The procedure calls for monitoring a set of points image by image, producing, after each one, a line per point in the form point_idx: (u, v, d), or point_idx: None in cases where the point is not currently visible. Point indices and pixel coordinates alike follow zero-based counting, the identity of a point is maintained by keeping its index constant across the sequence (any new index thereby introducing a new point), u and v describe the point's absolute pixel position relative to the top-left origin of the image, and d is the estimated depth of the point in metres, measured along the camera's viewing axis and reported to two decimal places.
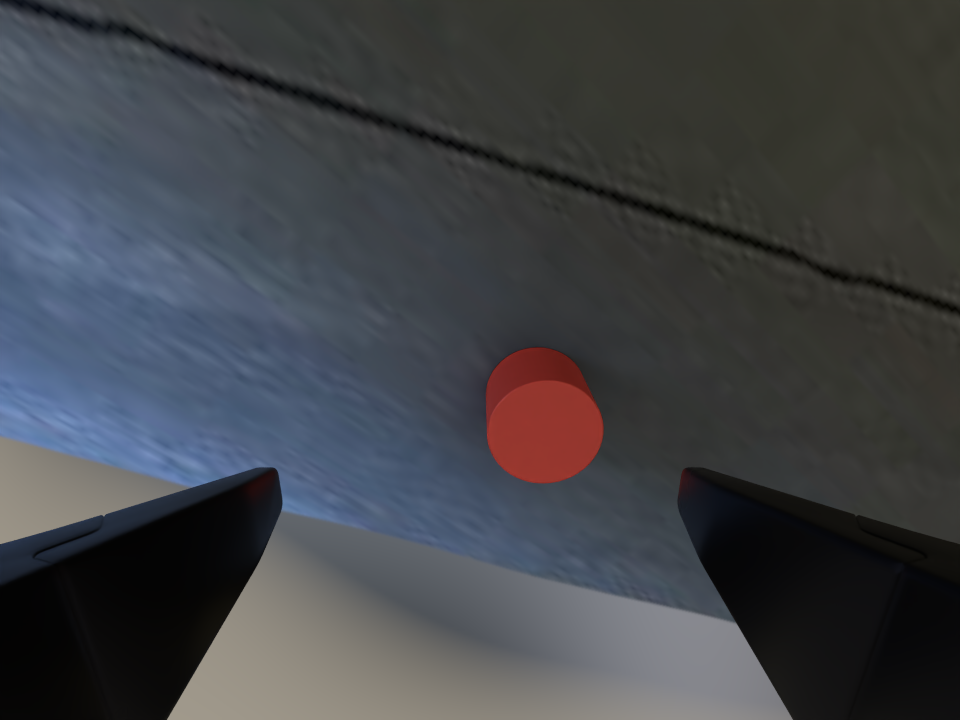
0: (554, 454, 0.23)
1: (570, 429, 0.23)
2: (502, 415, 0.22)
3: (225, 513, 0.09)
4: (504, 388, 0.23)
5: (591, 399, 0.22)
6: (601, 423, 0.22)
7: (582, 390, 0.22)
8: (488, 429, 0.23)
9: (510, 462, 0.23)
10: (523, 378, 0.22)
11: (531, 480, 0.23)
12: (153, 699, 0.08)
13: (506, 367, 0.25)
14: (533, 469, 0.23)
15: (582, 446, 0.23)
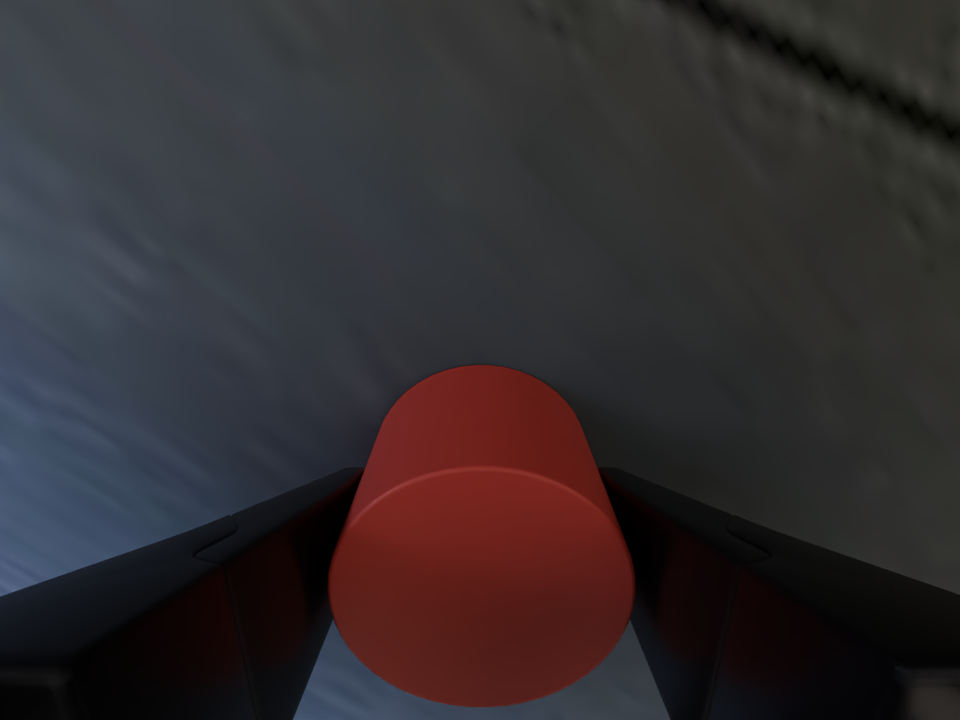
0: (500, 649, 0.09)
1: (548, 594, 0.08)
2: (367, 548, 0.08)
3: (334, 513, 0.09)
4: (383, 470, 0.09)
5: (612, 524, 0.08)
6: (631, 585, 0.08)
7: (590, 499, 0.08)
8: (330, 579, 0.08)
9: (388, 658, 0.09)
10: (434, 449, 0.08)
11: (441, 699, 0.09)
12: (284, 699, 0.08)
13: (412, 408, 0.10)
14: (446, 677, 0.09)
15: (575, 635, 0.09)
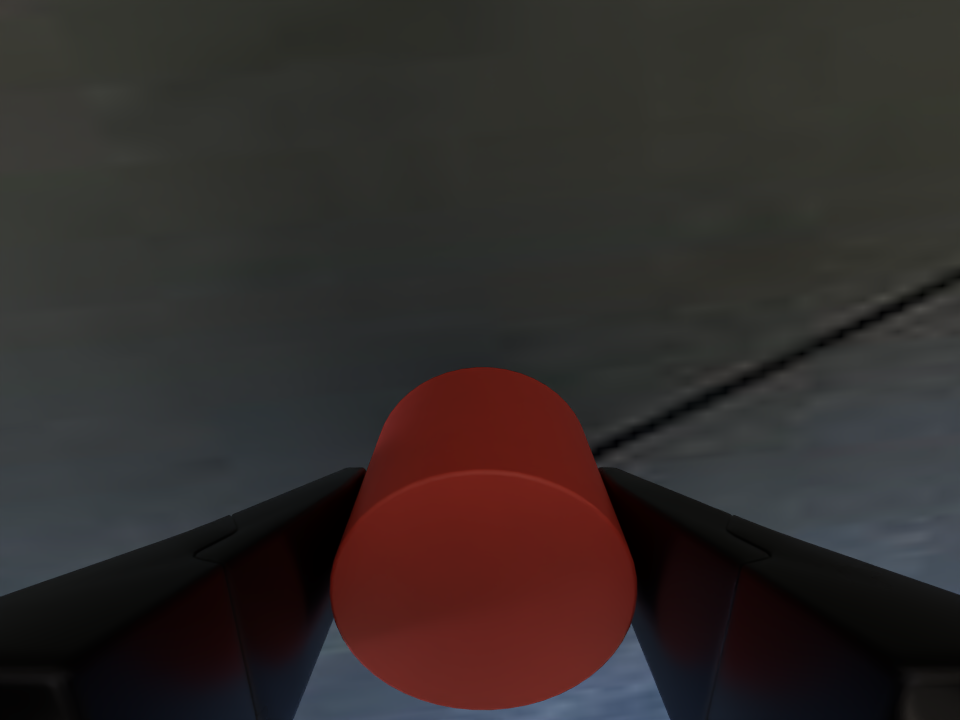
0: (503, 652, 0.09)
1: (550, 598, 0.09)
2: (369, 551, 0.08)
3: (335, 513, 0.09)
4: (385, 473, 0.09)
5: (613, 527, 0.08)
6: (633, 588, 0.08)
7: (591, 503, 0.08)
8: (332, 582, 0.08)
9: (390, 661, 0.09)
10: (436, 453, 0.08)
11: (443, 702, 0.09)
12: (284, 700, 0.08)
13: (413, 411, 0.10)
14: (448, 680, 0.09)
15: (577, 638, 0.09)
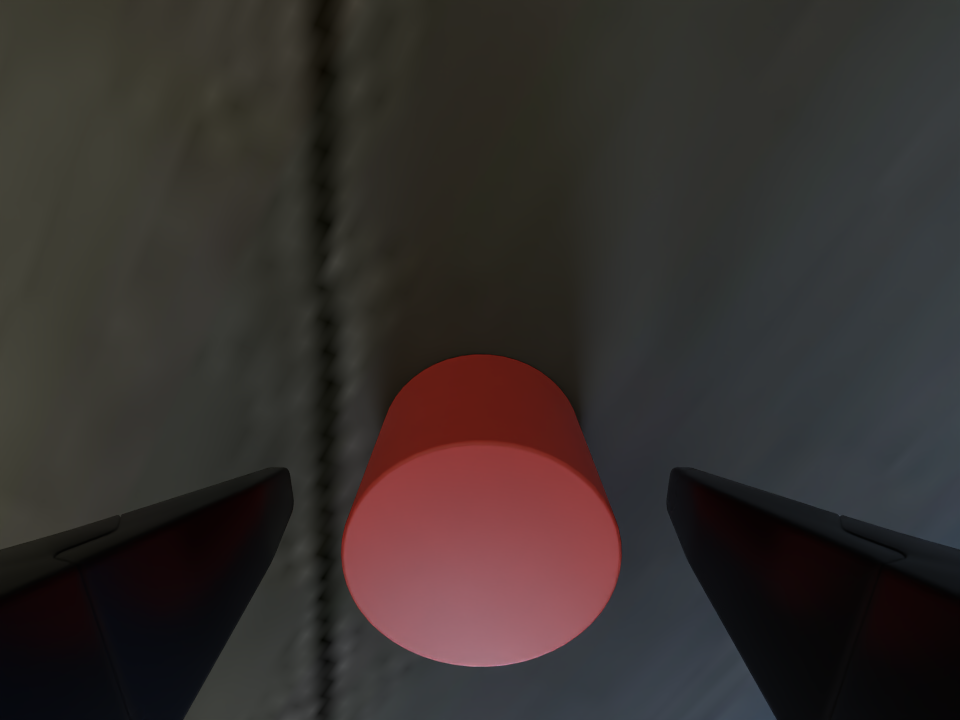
0: (499, 611, 0.10)
1: (543, 560, 0.09)
2: (377, 516, 0.09)
3: (239, 513, 0.09)
4: (392, 447, 0.10)
5: (599, 494, 0.09)
6: (618, 551, 0.09)
7: (579, 471, 0.09)
8: (343, 545, 0.09)
9: (396, 620, 0.10)
10: (438, 427, 0.09)
11: (444, 659, 0.10)
12: (170, 699, 0.08)
13: (416, 393, 0.11)
14: (449, 638, 0.10)
15: (567, 598, 0.10)
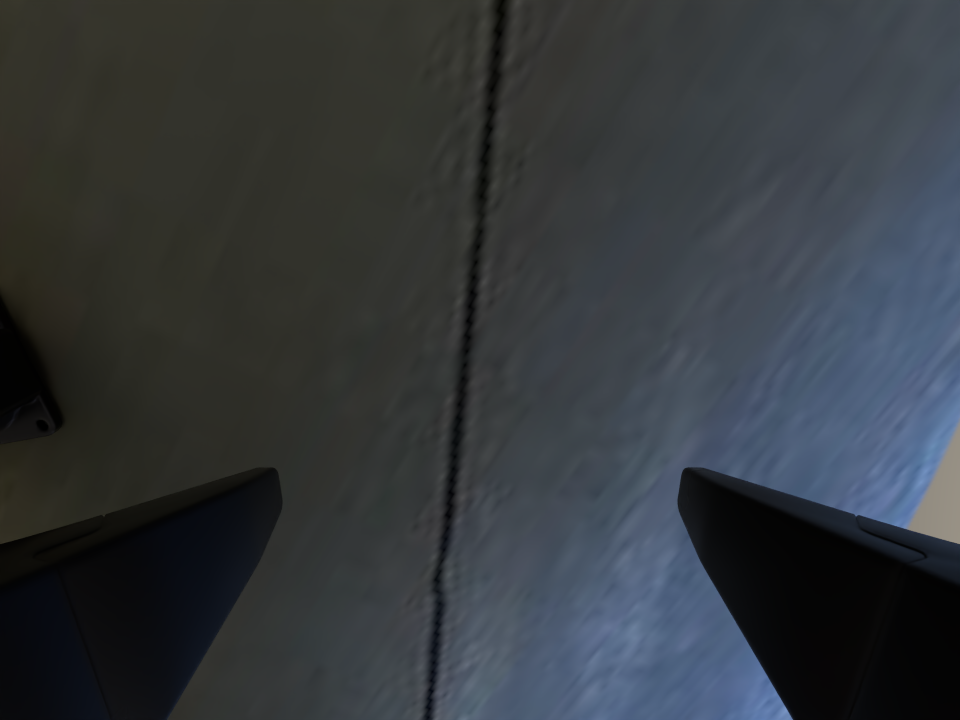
0: None
1: None
2: None
3: (225, 513, 0.09)
4: None
5: None
6: None
7: None
8: None
9: None
10: None
11: None
12: (153, 699, 0.08)
13: None
14: None
15: None
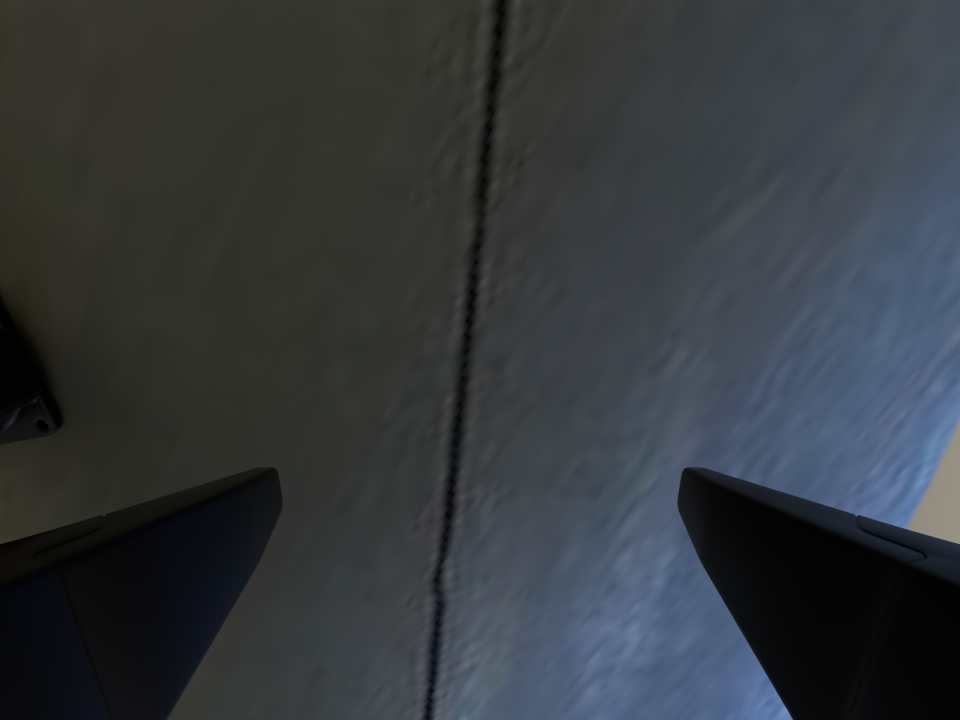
0: None
1: None
2: None
3: (225, 513, 0.09)
4: None
5: None
6: None
7: None
8: None
9: None
10: None
11: None
12: (153, 699, 0.08)
13: None
14: None
15: None
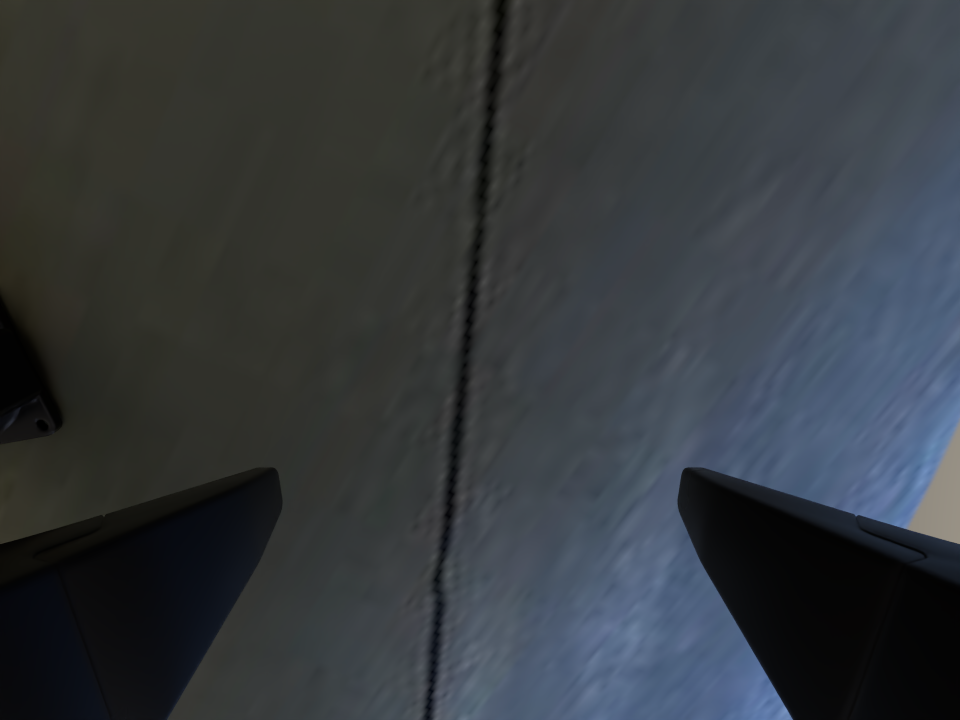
0: None
1: None
2: None
3: (225, 513, 0.09)
4: None
5: None
6: None
7: None
8: None
9: None
10: None
11: None
12: (153, 699, 0.08)
13: None
14: None
15: None
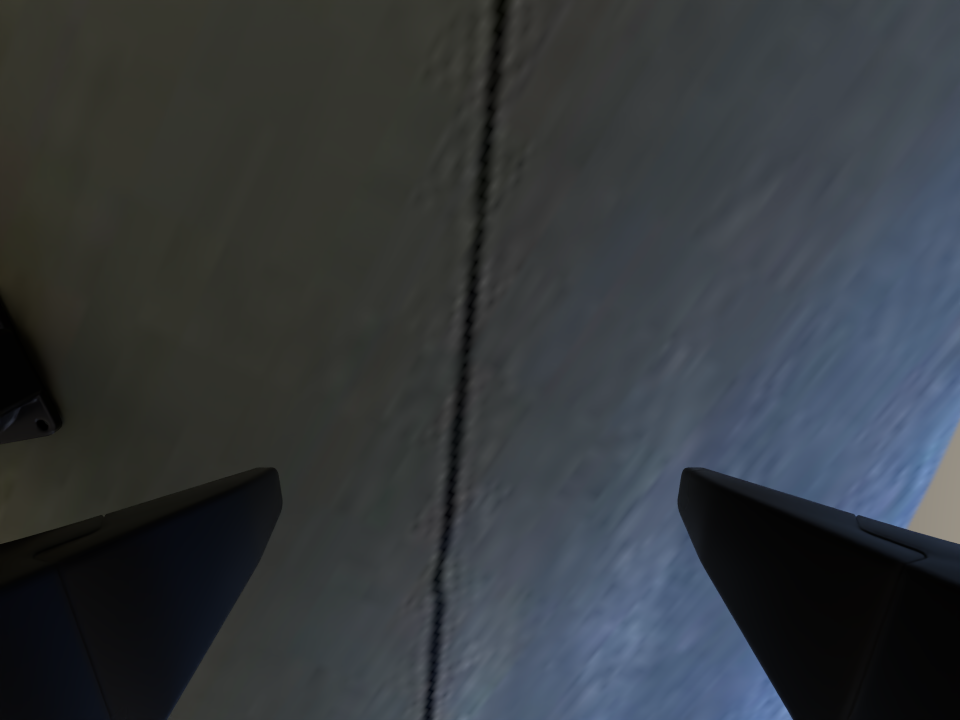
0: None
1: None
2: None
3: (225, 513, 0.09)
4: None
5: None
6: None
7: None
8: None
9: None
10: None
11: None
12: (153, 699, 0.08)
13: None
14: None
15: None
